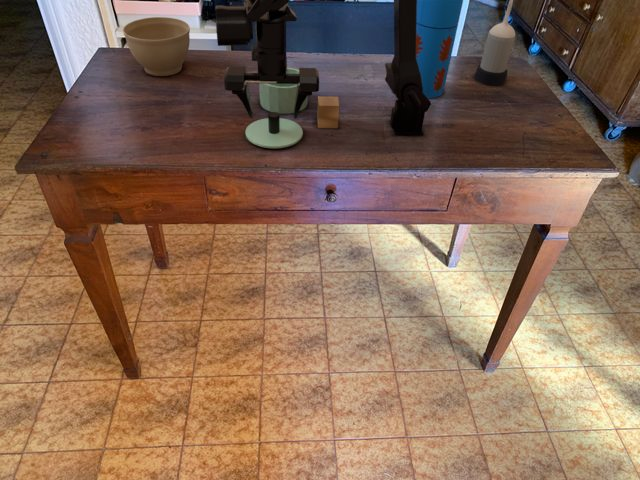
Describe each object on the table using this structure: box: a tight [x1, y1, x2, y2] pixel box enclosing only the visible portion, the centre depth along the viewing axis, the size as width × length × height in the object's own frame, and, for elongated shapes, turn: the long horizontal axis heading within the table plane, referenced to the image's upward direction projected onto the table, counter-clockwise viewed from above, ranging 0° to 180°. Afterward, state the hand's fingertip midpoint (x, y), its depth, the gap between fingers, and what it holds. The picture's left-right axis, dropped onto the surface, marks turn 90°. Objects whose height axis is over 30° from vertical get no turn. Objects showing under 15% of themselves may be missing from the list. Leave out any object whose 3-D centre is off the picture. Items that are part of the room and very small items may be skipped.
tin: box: [258, 67, 309, 115], centre depth 120 cm, size 11×11×6 cm
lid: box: [245, 112, 304, 149], centre depth 108 cm, size 12×12×5 cm
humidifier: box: [474, 0, 516, 87], centre depth 129 cm, size 8×8×25 cm
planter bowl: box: [122, 16, 191, 77], centre depth 130 cm, size 16×16×11 cm
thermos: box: [416, 0, 464, 99], centre depth 122 cm, size 11×11×25 cm
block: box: [316, 95, 340, 129], centre depth 113 cm, size 4×4×6 cm
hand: (273, 117), depth 107 cm, fingers open, 9 cm apart
